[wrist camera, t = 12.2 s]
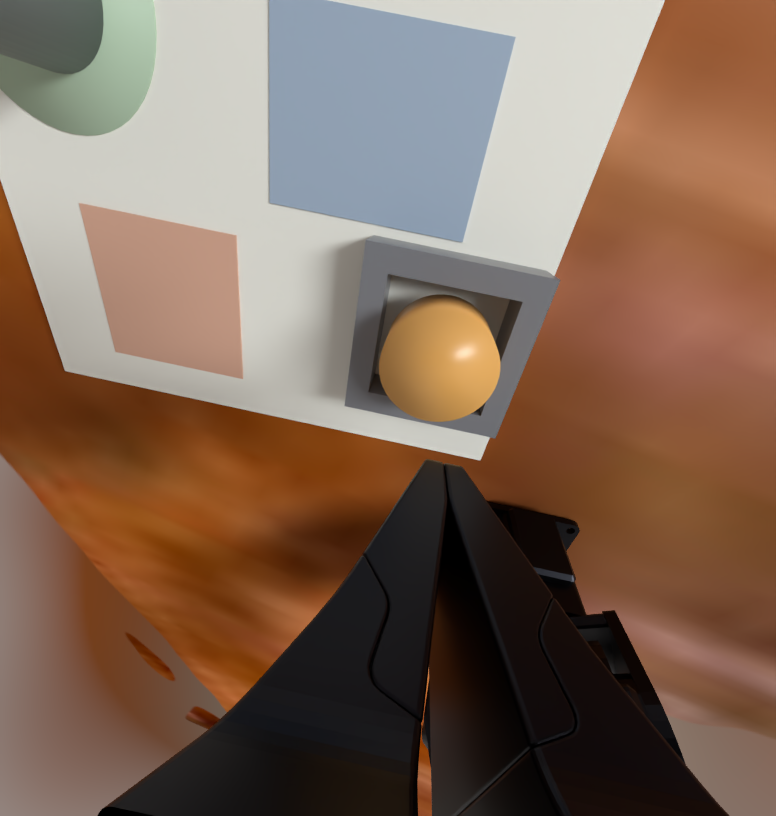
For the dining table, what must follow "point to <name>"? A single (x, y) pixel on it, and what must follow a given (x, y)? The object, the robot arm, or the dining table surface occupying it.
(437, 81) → the colouring board
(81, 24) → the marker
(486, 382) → the button
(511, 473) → the dining table surface
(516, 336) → the button housing
